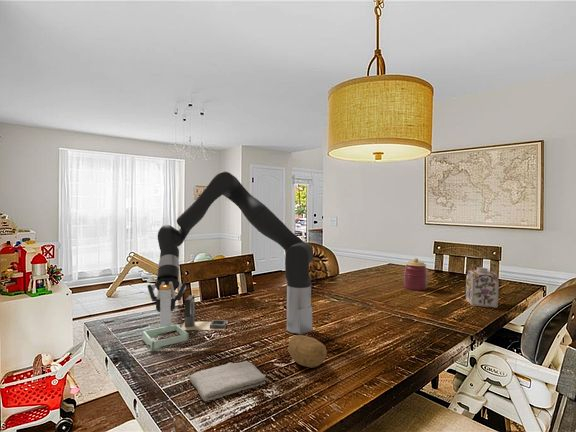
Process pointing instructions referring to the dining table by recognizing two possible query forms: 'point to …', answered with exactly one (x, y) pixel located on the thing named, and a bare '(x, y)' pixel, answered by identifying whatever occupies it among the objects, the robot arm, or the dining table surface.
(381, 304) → the dining table surface
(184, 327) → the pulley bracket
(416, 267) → the canister
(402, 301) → the dining table surface
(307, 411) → the dining table surface
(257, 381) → the washcloth
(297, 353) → the potato
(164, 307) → the pin
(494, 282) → the decorative jar
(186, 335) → the tray
